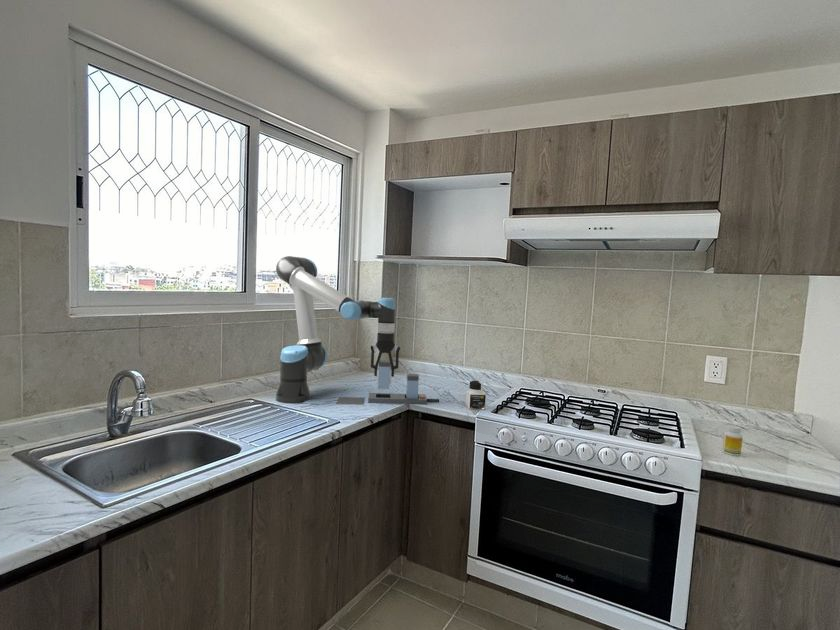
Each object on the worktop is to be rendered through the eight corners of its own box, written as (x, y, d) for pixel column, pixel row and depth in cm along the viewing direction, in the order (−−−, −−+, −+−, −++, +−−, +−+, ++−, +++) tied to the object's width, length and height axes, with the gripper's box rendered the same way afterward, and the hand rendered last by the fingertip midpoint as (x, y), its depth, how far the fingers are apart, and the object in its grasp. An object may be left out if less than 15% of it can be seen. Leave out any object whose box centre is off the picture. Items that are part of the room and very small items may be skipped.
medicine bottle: (469, 409, 198) (470, 383, 197) (465, 405, 205) (466, 379, 204) (485, 409, 199) (486, 383, 198) (480, 405, 206) (481, 379, 205)
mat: (335, 404, 195) (335, 403, 195) (338, 397, 207) (338, 396, 207) (363, 405, 196) (363, 404, 196) (364, 398, 208) (364, 397, 208)
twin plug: (406, 402, 201) (407, 376, 200) (405, 399, 206) (407, 373, 205) (417, 402, 201) (418, 376, 200) (416, 399, 206) (418, 374, 205)
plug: (377, 388, 199) (379, 362, 199) (378, 386, 204) (379, 360, 204) (389, 389, 200) (390, 362, 199) (389, 386, 205) (390, 360, 204)
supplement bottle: (719, 449, 161) (721, 423, 160) (735, 451, 160) (738, 425, 159) (727, 455, 156) (729, 428, 155) (744, 457, 155) (746, 429, 154)
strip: (368, 405, 197) (368, 397, 197) (369, 399, 207) (369, 391, 207) (440, 407, 200) (440, 399, 199) (437, 401, 209) (438, 393, 209)
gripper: (365, 332, 196) (363, 384, 198) (406, 334, 197) (404, 386, 199) (366, 330, 204) (364, 381, 205) (405, 332, 205) (403, 382, 206)
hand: (383, 383), depth 202 cm, fingers closed on plug, 5 cm apart
